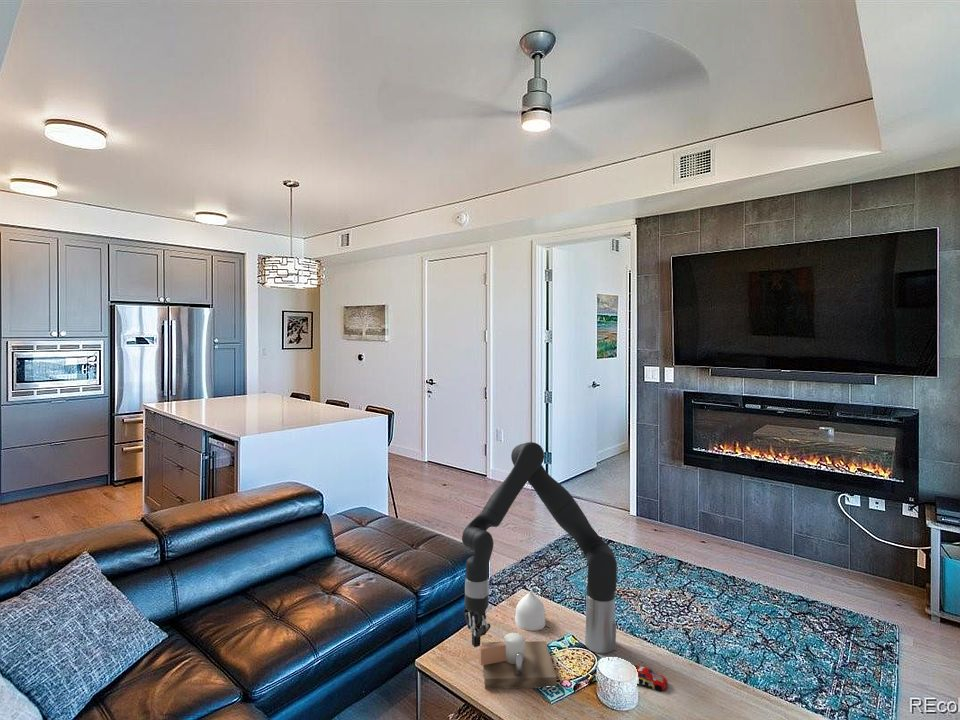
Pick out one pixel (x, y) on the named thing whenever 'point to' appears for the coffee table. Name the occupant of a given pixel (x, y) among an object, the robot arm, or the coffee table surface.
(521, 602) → the teardrop
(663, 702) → the coffee table surface
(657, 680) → the race car
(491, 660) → the white cylinder with panel
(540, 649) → the base
